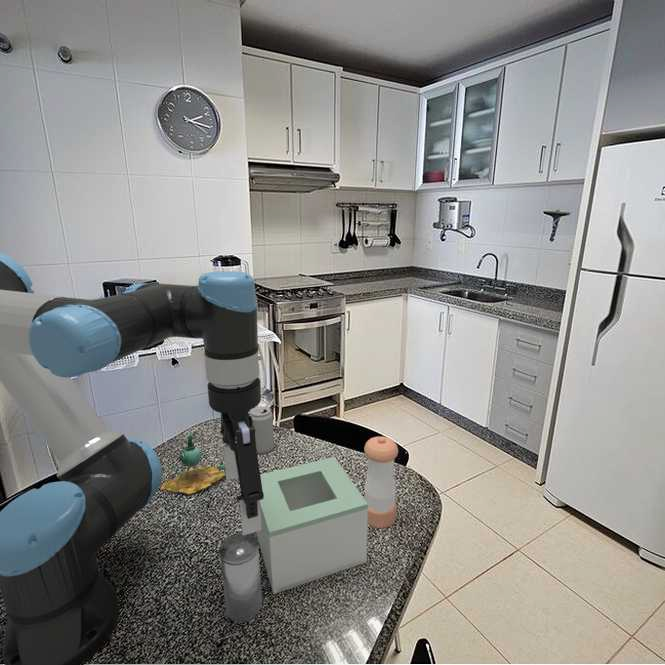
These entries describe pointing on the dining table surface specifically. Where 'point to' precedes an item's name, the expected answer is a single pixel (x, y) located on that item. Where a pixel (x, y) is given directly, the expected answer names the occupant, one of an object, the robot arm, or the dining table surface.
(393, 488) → the pepper shaker
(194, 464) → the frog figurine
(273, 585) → the caddy
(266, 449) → the beverage can
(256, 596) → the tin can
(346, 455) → the dining table surface
